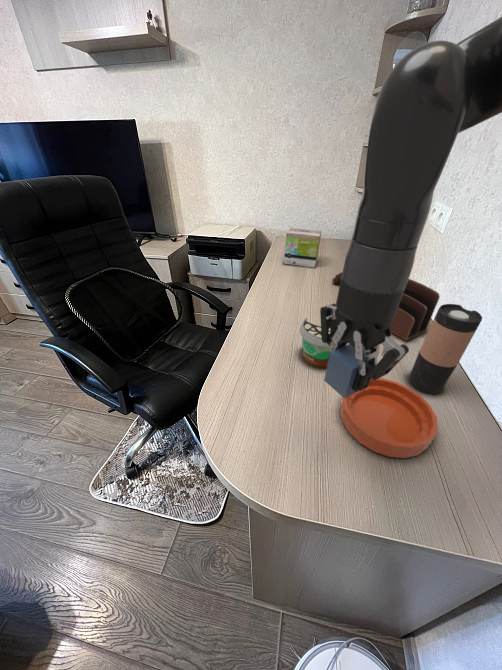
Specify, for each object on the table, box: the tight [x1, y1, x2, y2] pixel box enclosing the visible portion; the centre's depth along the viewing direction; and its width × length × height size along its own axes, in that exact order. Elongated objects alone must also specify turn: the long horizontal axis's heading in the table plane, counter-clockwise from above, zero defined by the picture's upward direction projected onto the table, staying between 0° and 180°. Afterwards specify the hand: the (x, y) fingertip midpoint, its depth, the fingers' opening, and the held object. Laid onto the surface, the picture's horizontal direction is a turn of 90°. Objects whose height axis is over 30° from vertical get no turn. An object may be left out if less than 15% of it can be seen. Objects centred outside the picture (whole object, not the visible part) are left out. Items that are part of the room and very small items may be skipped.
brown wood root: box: [331, 272, 342, 286], centre depth 111 cm, size 9×5×18 cm
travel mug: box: [408, 303, 483, 395], centre depth 62 cm, size 8×8×20 cm
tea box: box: [283, 227, 322, 268], centre depth 131 cm, size 15×10×15 cm, turn 73°
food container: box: [299, 317, 330, 369], centre depth 71 cm, size 12×6×10 cm, turn 47°
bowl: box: [339, 377, 439, 459], centre depth 57 cm, size 18×18×4 cm
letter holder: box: [390, 278, 440, 342], centre depth 86 cm, size 10×20×14 cm, turn 31°
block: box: [323, 343, 368, 398], centre depth 43 cm, size 4×4×6 cm
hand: (345, 378), depth 44 cm, fingers closed on block, 4 cm apart
